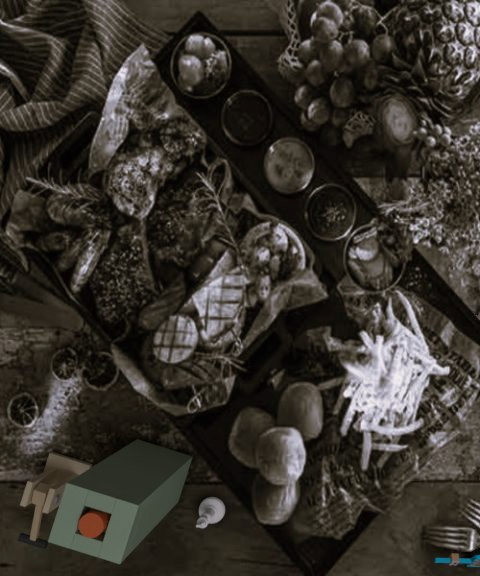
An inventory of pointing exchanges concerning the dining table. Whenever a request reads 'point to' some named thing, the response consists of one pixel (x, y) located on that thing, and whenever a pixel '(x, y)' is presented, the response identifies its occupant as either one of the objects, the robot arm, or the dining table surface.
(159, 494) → the button post
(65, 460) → the switch bracket
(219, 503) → the chess piece
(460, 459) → the dining table surface
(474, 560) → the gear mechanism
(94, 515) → the button
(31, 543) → the lever
